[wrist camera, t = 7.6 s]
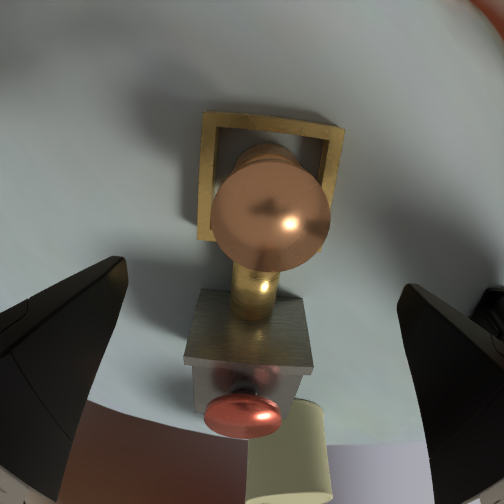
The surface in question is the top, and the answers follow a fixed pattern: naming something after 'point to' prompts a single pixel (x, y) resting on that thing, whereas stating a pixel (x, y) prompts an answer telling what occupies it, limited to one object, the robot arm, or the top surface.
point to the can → (290, 460)
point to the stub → (270, 211)
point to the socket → (263, 123)
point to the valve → (247, 354)
